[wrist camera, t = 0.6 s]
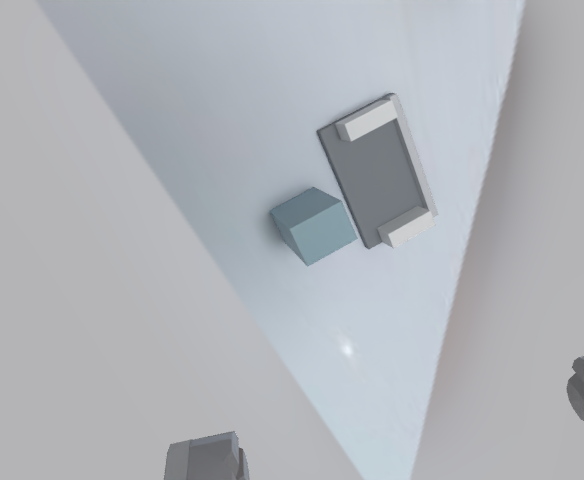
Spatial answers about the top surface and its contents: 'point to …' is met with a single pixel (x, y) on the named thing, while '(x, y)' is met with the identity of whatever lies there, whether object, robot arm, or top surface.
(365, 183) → the mounting board
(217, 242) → the top surface
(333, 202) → the block
